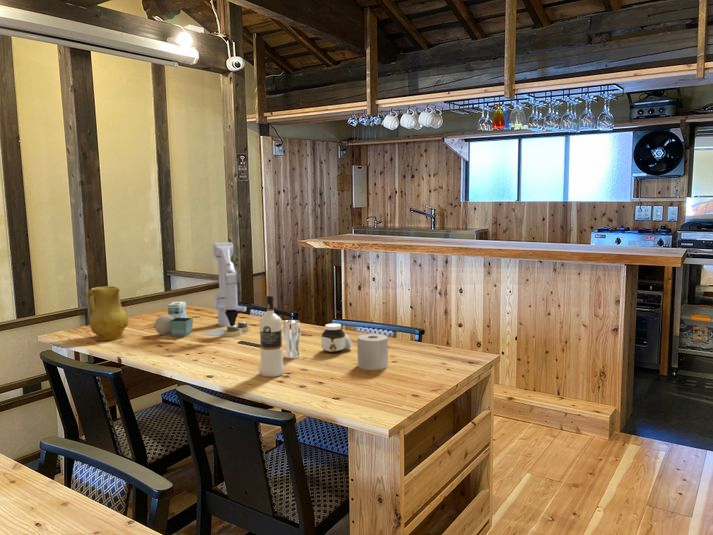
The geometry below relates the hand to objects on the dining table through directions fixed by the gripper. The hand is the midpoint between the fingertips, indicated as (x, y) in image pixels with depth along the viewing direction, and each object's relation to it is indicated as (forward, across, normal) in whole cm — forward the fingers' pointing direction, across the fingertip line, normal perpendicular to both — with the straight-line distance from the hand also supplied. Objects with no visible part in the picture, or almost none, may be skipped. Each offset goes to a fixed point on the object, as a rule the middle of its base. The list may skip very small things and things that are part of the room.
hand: (232, 325), depth 276 cm
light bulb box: (+6, -45, +21) cm, 50 cm away
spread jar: (+6, +57, -11) cm, 58 cm away
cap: (+4, 0, 0) cm, 4 cm away
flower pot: (+6, -23, -8) cm, 25 cm away
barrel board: (+6, -5, +3) cm, 8 cm away
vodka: (+6, +44, -49) cm, 66 cm away
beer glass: (+6, +42, -25) cm, 49 cm away
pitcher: (+6, -58, -16) cm, 60 cm away
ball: (+6, -34, -5) cm, 35 cm away
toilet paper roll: (+6, +78, -29) cm, 83 cm away
